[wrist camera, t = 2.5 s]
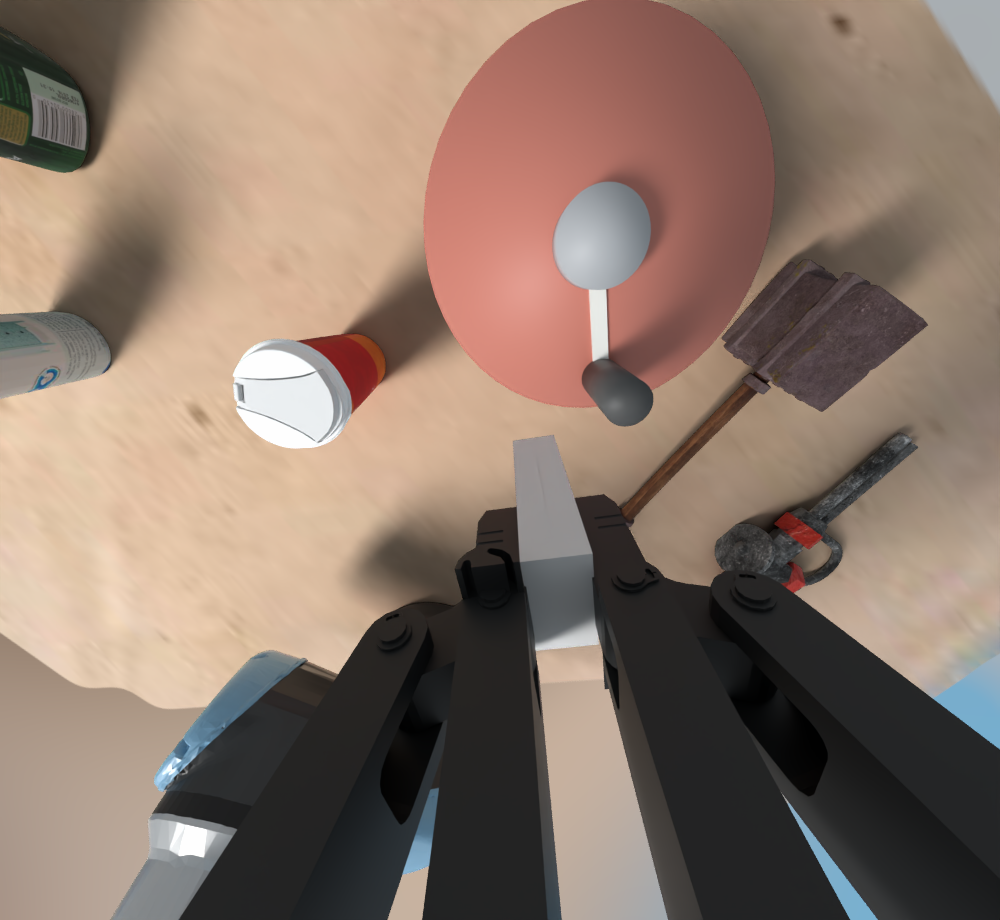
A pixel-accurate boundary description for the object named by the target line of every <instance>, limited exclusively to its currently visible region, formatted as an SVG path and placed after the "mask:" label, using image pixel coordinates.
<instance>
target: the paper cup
mask: <svg viewBox="0 0 1000 920" xmlns="http://www.w3.org/2000/svg"><path fill="white" fill-rule="evenodd" d="M385 369H386V363H385V358H384V355H383V353H382V351H381V349H380V348H379V347H378V345H377V344H376V343H375V342H374V341H372V340H371V339H369V338H368V337H366V336H363V335H360V334H341V335H333V336H326V337H319V338H312V339H306V340H299V341H294V340H288V339H272V340H267V341H263V342H261V343H258V344H256V345H255V346H253V347H252V348H250V349H249V350H248V351H247V352H246V353H245V354H244V355H243V357H242V359H241V360H240V362H239V364H238V365H237V367H236V369H235V371H234V374H233V376H235V381H234V383H233V388H234V398H235V400H236V401H237V405H238V406H237V407H236V409H237V411H238V413H239V415H240V416H241V418H242V419H243V421H244V422H245V423H246V424H247V425H248V427H249V428H250V429H252V430H253V431H254V432H255V433H256V434H257V435H259V436H260V437H262V438H263V439H265V440H267V441H269V442H271V443H273V444H276V445H279V446H283V447H287V448H312V447H318V446H321V445H324V444H327V443H328V442H330V441H332V440H333V439H334V438H336V437H337V436H338V435H339V434H340V433H341V431H342V430H343V429H344V427H345V425H346V423H347V421H348V420H349V418H350V416H351V414H352V413H353V412H354V411H355V410H356V409H357V408H358V407H359V406H360V405H361V403H362V402H363V401H364V400H365V399H366V398H367V397H368V396H369V395H370V394H371V392H372V391H373V390H374V389H375V388H376V387H377V386H378V384H379V383H380V382H381V380H382V379H383V377H384V374H385Z"/></svg>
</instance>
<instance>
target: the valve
mask: <svg viewBox="0 0 1000 920" xmlns="http://www.w3.org/2000/svg"><path fill="white" fill-rule="evenodd" d="M911 441H912V439H911V438H910V437H908V436H907V435H905V434H903V433H897V434H896V435H895V436H894V437H893V438H892V439H891V440H889V441H888V442H887V443H886V444H885V445H884V446H883V447H882V448H880V449H879V450H878V451H877V452H876V453H875V454H874V455H872V456H871V457H870V458H869V459H868V460H867V461H866V462H864V463H863V464H862V465H861V466H860V467H859V468H858V469H856V470H855V471H854V472H853V473H852V474H851V475H850V476H848V477H847V478H846V479H845V480H844V481H843V482H842V483H841V484H839V485H838V486H837V487H836V488H835V489H834V490H833V491H831V492H830V493H829V494H828V495H827V496H826V497H825V498H823V499H822V500H821V501H820V502H819V503H818V504H817V505H815V506H814V507H813V508H812V509H811V510H810V511H809V512H808V511H807V510H805V509H803V508H798V509H796V510H794V511H792V512H790V513H789V512H786V513H785V514H784V515H783V516H782V517H781V518H780V519H778V520H777V521H776V522H775V523H774V524H775V525H777V526H778V527H779V528H778V529H777V530H775V529H773V530H772V531H771V532H770V533H769V534H768V533H767V532H765V531H764V530H763V529H761V528H759V527H758V526H755V525H752V524H738V525H735V526H734V527H733V528H731V529H730V530H729V531H728V532H727V533H726V534H724V535H723V536H722V537H721V538H720V539H718V540H717V542H716V546H715V557H716V560H717V562H718V564H719V565H720V567H721V568H722V569H723V570H725V571H732V570H744V571H753V572H756V573H759V574H762V575H765V576H768V577H770V578H772V579H773V580H775V581H777V582H779V583H780V584H782V585H783V586H785V587H786V588H787V589H789V590H790V591H791V592H793V593H794V592H796V591H797V590H800V589H801V588H802V587H803V586H808V585H811V584H814V583H817V582H819V581H820V580H822V579H824V578H825V577H827V576H828V575H829V574H830V573H832V572H833V571H834V570H835V568H836V567H837V566H838V565H839V563H840V561H841V559H842V553H843V552H842V548H841V546H840V544H839V543H838V542H836V541H835V540H834V539H833V538H831V537H830V536H829V535H827V534H826V533H825V530H826V529H827V524H828V523H829V522H831V521H832V520H833V519H834V518H835V517H837V516H838V515H839V514H840V513H841V512H842V511H844V510H845V509H846V508H847V507H848V506H849V505H851V504H852V503H853V502H854V501H855V500H857V499H858V498H859V497H860V496H861V495H862V494H864V493H865V492H866V491H867V490H868V489H870V488H871V487H872V486H873V485H874V484H875V483H877V482H878V481H879V480H880V479H881V478H883V477H884V476H885V475H886V474H887V473H888V472H890V471H891V470H892V469H893V468H894V467H896V466H897V465H898V464H899V463H900V462H901V461H903V460H904V459H905V458H906V457H907V456H909V455H910V454H911V453H912V452H913V451H914V450H916V449H917V448H918V446H916V445H915V444H913V443H911ZM820 540H821V541H823V542H824V543H825V544H827V545H828V546H829V547H830V548H831V549H832V554H831V557H830V559H829V561H828V562H827V563H826V565H825V566H824V567H823V568H821V569H820V570H819V571H817V572H816V573H814V574H812V575H810V576H808V577H804V576H803V572H802V568H801V567H799V566H798V565H796V564H795V563H793V562H790V560H791V559H793V558H794V557H795V556H796V555H797V554H799V553H800V552H801V551H802V550H801V548H802V547H803V546H805V547H806V548H807V549H810V548H812V547H813V546H814V545H815V544H816V543H817V542H819V541H820Z"/></svg>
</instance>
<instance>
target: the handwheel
mask: <svg viewBox="0 0 1000 920" xmlns="http://www.w3.org/2000/svg"><path fill="white" fill-rule="evenodd" d="M774 190H775V170H774V153H773V147H772V141H771V136H770V130H769V125H768V122H767V119H766V116H765V112H764V109H763V106H762V103H761V100H760V98H759V96H758V94H757V91H756V89H755V87H754V85H753V83H752V81H751V79H750V77H749V75H748V73H747V72H746V70H745V69H744V67H743V66H742V65H741V63H740V62H739V60H738V59H737V57H736V56H735V54H734V53H733V52H732V51H731V50H730V49H729V47H728V46H727V45H726V44H725V43H724V42H723V41H722V40H721V39H720V38H719V37H718V36H717V35H716V34H715V33H714V32H713V31H711V30H710V29H709V28H707V27H706V26H704V25H703V24H702V23H700V22H699V21H697V20H696V19H695V18H693V17H692V16H690V15H688V14H685V13H683V12H681V11H679V10H677V9H675V8H672V7H670V6H668V5H665V4H661V3H657V2H653V1H649V0H586V1H582V2H579V3H576V4H573V5H570V6H567V7H563V8H560V9H557V10H555V11H553V12H551V13H549V14H547V15H546V16H544V17H542V18H540V19H538V20H536V21H534V22H532V23H530V24H529V25H528V26H526V27H525V28H523V29H522V30H521V31H519V32H518V33H517V34H515V35H514V36H513V37H511V38H510V39H508V40H507V41H506V42H505V43H504V44H503V45H502V46H501V47H500V48H499V49H498V50H497V51H496V52H495V53H494V54H493V55H492V56H491V57H490V58H489V59H488V60H487V61H486V62H485V63H484V64H483V65H482V67H481V68H480V69H479V70H478V72H477V73H476V74H475V76H474V77H473V78H472V79H471V81H470V82H469V83H468V85H467V86H466V87H465V89H464V91H463V93H462V94H461V96H460V98H459V99H458V101H457V103H456V104H455V106H454V108H453V110H452V111H451V113H450V115H449V118H448V120H447V122H446V125H445V127H444V129H443V131H442V134H441V136H440V138H439V141H438V144H437V148H436V151H435V154H434V158H433V161H432V164H431V168H430V173H429V178H428V184H427V189H426V195H425V209H424V244H425V253H426V260H427V266H428V272H429V276H430V280H431V284H432V287H433V291H434V294H435V297H436V300H437V302H438V305H439V307H440V310H441V312H442V315H443V317H444V319H445V321H446V322H447V324H448V326H449V328H450V330H451V332H452V333H453V335H454V337H455V338H456V340H457V341H458V342H459V344H460V345H461V346H462V348H463V349H464V351H465V352H466V353H467V354H468V355H469V357H470V358H471V359H472V360H473V361H474V362H475V363H476V364H477V365H478V366H479V367H480V368H481V369H482V370H483V371H485V372H486V373H487V374H488V375H489V376H491V377H492V378H493V379H494V380H495V381H497V382H499V383H500V384H502V385H503V386H505V387H507V388H508V389H510V390H511V391H514V392H516V393H518V394H520V395H522V396H524V397H527V398H529V399H532V400H536V401H539V402H542V403H545V404H550V405H556V406H562V407H580V408H585V407H596V406H598V407H599V408H600V409H601V411H602V412H603V413H604V414H605V416H606V417H607V418H608V419H609V420H610V421H611V422H612V423H614V424H616V425H618V426H631V425H635V424H637V423H639V422H640V421H642V420H643V419H644V418H645V417H646V416H647V415H648V414H649V412H650V410H651V408H652V405H653V393H652V391H651V390H653V389H655V388H657V387H659V386H660V385H662V384H664V383H665V382H667V381H669V380H670V379H672V378H673V377H675V376H677V375H678V374H679V373H680V372H682V371H683V370H684V369H686V368H687V367H688V366H689V365H691V364H692V363H693V362H694V361H695V360H696V359H697V358H698V357H699V356H701V355H702V354H703V353H704V352H705V351H706V350H707V349H708V348H709V347H710V346H711V345H712V343H713V342H714V341H715V340H716V339H717V337H718V336H719V335H720V334H721V333H722V331H723V330H724V329H725V328H726V326H727V325H728V323H729V322H730V320H731V319H732V317H733V316H734V315H735V313H736V312H737V310H738V309H739V307H740V305H741V303H742V301H743V299H744V298H745V296H746V294H747V292H748V290H749V288H750V287H751V284H752V282H753V279H754V277H755V275H756V272H757V270H758V267H759V265H760V263H761V259H762V256H763V253H764V249H765V246H766V242H767V239H768V235H769V230H770V224H771V219H772V213H773V204H774Z"/></svg>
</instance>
